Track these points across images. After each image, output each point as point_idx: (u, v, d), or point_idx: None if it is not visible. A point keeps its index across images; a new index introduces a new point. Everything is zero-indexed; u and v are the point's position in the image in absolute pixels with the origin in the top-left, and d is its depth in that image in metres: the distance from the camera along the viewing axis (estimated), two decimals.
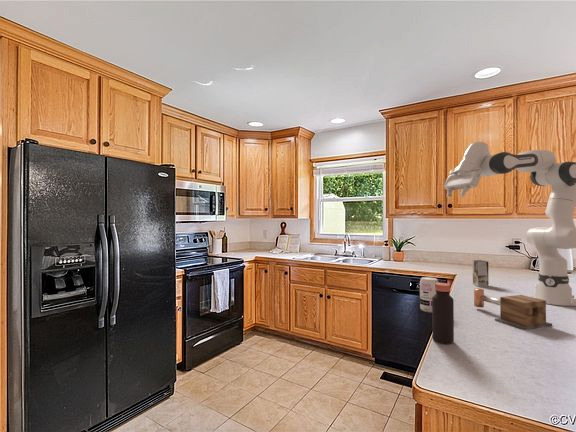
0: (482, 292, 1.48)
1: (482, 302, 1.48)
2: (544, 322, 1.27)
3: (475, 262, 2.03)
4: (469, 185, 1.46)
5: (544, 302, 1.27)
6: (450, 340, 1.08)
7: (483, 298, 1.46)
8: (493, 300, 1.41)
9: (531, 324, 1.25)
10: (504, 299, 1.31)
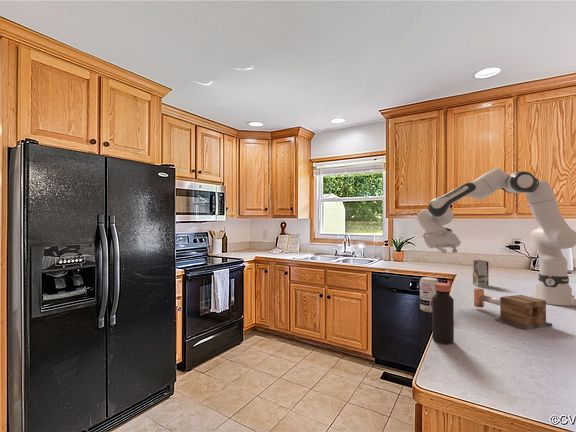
0: (482, 292, 1.48)
1: (482, 302, 1.48)
2: (544, 322, 1.27)
3: (475, 262, 2.03)
4: (433, 246, 1.67)
5: (544, 302, 1.27)
6: (450, 340, 1.08)
7: (483, 298, 1.46)
8: (493, 300, 1.41)
9: (531, 324, 1.25)
10: (504, 299, 1.31)
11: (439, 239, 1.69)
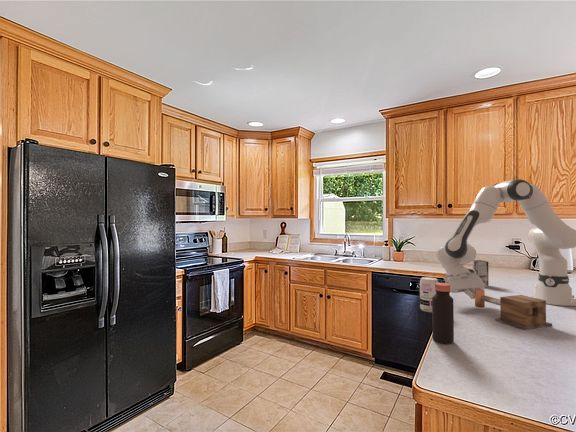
0: (483, 292, 1.47)
1: (483, 302, 1.47)
2: (544, 322, 1.27)
3: (475, 262, 2.03)
4: (455, 291, 1.53)
5: (544, 302, 1.27)
6: (450, 340, 1.08)
7: (484, 298, 1.46)
8: (494, 301, 1.41)
9: (531, 324, 1.25)
10: (504, 299, 1.31)
11: (462, 283, 1.55)
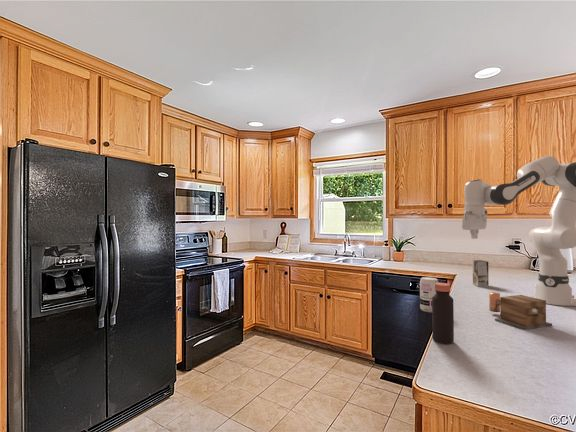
0: (498, 296, 1.40)
1: (498, 307, 1.40)
2: (544, 322, 1.27)
3: (475, 262, 2.03)
4: (466, 229, 1.56)
5: (544, 302, 1.27)
6: (450, 340, 1.08)
7: (499, 302, 1.38)
8: None
9: (531, 324, 1.25)
10: (504, 299, 1.31)
11: (475, 223, 1.57)
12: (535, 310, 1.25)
